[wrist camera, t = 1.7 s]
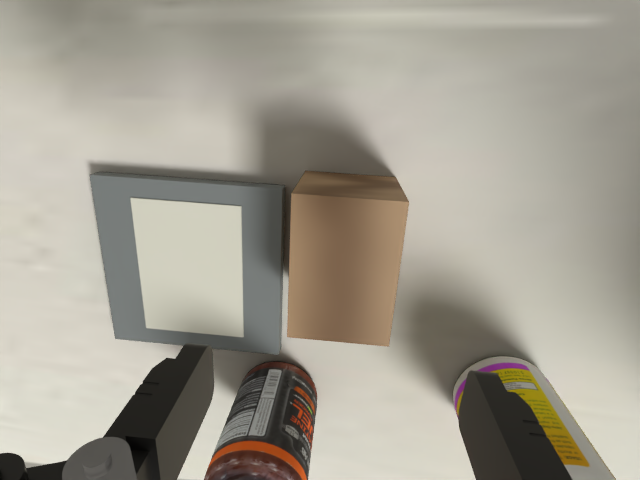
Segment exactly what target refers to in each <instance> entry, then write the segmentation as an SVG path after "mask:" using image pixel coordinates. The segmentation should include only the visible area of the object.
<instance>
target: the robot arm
mask: <svg viewBox="0 0 640 480" xmlns="http://www.w3.org/2000/svg"><path fill="white" fill-rule="evenodd" d="M213 391H214V374H213V354H212V347H211V345H203V344H193V343H186V344H185V345H184V346H183V348H182V350H181V351H180V353H179V354H178V356H177V357H176V359H172V358H166V359H165V360H163V361H162V362H161V363H159V364H158V365H156V366H155V367H154V368H152V370H151V371H150V372H149V374H148V375H147V377H146V378H145V379H144V381H143V384H141V385H140V386H139V388H138V389H137V391H136V392H135V395H133V396H132V398H131V399H130V400H129V402H128V403H127V405H126V406H125V407H124V409H123V410H122V412H121V413H120V414H119V416H118V417H117V419H116V420H115V421H114V423H113V424H112V426H111V427H110V428H109V430H108V431H107V433H106V434H105V435H104V437H103V438H99V439H96V440H93V441H91V442H89V443H87V444H85V445H83V446H82V447H81V448H79V449H78V450H77V451H75V452H74V453H73V454H72V455H71V456H70V458H69V459H68V460H67V461H63V462H58V463H53V464H47V465H42V466H36V467H31V468H26V467H25V463H24V460H23V459H22V457H20V456H19V455H16V454H13V453H2V454H0V480H177V478H178V475H179V473H180V471H181V469H182V467H183V464H184V462H185V460H186V458H187V455H188V453H189V451H190V449H191V446H192V444H193V442H194V440H195V437H196V435H197V433H198V431H199V428H200V426H201V424H202V422H203V419H204V417H205V415H206V413H207V410H208V408H209V406H210V403H211V400H212V396H213ZM458 419H459V428H460V432H461V435H462V438H463V441H464V444H465V447H466V450H467V453H468V456H469V459H470V462H471V465H472V468H473V472H474V475H475V478H476V480H572V478H571V476H570V474H569V473H568V471H567V469H566V467H565V466H564V464H563V462H562V461H561V459H560V457H559V455H558V454H557V452H556V450H555V448H554V447H553V445H552V443H551V441H550V440H549V438H547V437H546V433H545V431H544V429H543V428H542V426H541V425H539V421H538V419H537V417H536V415H535V414H534V412H533V410H532V409H531V407H530V406H529V405H528V404H527V403H526V402H525V401H524V400H523V399H522V398H521V397H520V396H519V395H518V394H517V393H516V392H508V391H507V390H506V388H505V386H504V385H503V383H502V381H501V379H500V377H499V375H498V374H497V373H494V372H483V371H472V370H471V371H469V372H468V375H467V378H466V382H465V386H464V391H463V395H462V399H461V403H460V407H459V414H458Z"/></svg>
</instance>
